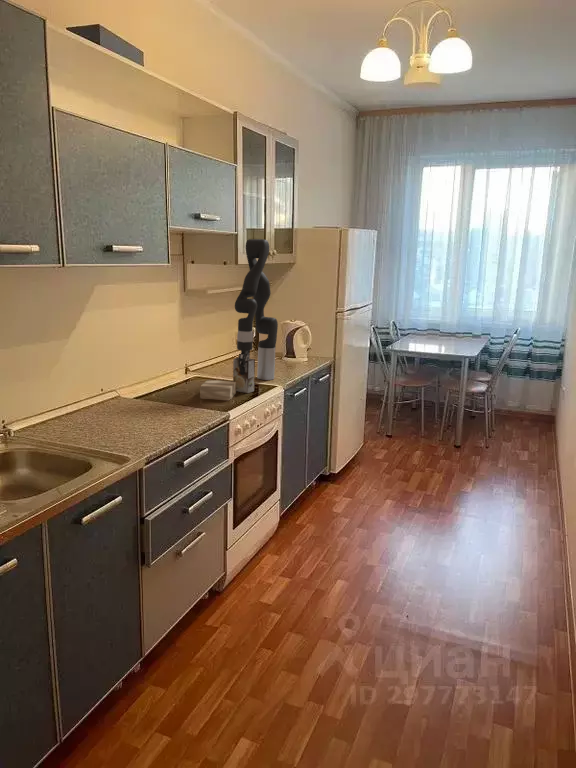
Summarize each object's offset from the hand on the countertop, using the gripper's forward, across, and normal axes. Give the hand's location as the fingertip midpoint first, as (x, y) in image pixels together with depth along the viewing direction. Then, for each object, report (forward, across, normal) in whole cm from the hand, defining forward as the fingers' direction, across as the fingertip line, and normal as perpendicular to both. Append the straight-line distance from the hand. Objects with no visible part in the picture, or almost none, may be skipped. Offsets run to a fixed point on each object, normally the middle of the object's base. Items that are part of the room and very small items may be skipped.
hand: (244, 372), depth 277 cm
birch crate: (+9, +12, -10) cm, 18 cm away
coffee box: (+9, 0, 0) cm, 9 cm away
